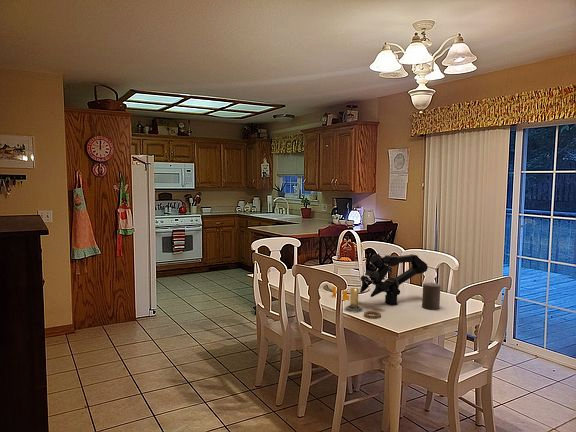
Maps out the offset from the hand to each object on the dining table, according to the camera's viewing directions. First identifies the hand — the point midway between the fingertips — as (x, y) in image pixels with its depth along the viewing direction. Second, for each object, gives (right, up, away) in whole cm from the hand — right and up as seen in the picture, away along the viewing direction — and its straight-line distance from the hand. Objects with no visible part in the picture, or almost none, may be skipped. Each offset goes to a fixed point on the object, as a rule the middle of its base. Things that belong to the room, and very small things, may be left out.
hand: (365, 294), depth 248 cm
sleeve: (-7, -8, -3) cm, 11 cm away
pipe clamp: (-12, -6, +21) cm, 25 cm away
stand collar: (+1, -9, -15) cm, 17 cm away
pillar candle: (+38, -8, +2) cm, 39 cm away
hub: (-7, -8, -3) cm, 11 cm away
